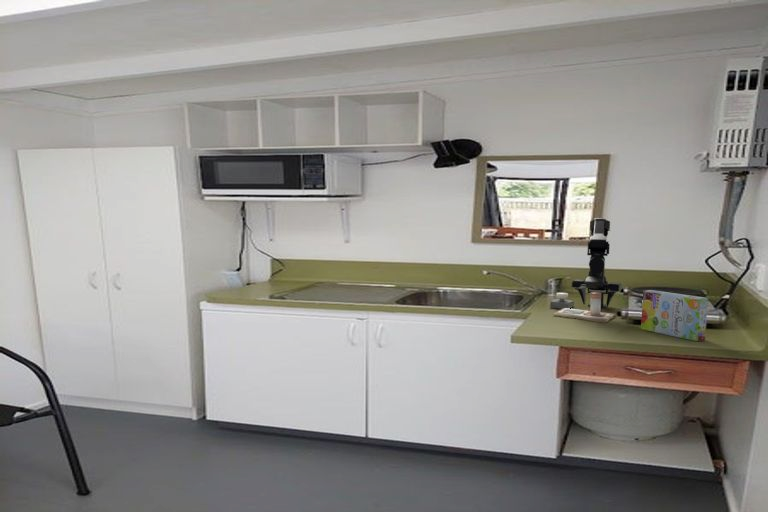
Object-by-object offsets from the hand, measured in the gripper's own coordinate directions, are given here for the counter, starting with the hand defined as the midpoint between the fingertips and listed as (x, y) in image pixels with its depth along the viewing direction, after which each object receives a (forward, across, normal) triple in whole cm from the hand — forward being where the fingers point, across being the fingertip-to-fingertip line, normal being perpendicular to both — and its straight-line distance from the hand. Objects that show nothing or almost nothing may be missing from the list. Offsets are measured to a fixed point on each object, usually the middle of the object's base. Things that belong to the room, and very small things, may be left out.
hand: (595, 305), depth 212 cm
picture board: (+5, -4, 0) cm, 7 cm away
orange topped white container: (+4, 0, 0) cm, 4 cm away
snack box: (+5, +30, -12) cm, 33 cm away
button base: (+5, -18, +12) cm, 22 cm away
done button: (+3, -18, +12) cm, 22 cm away
